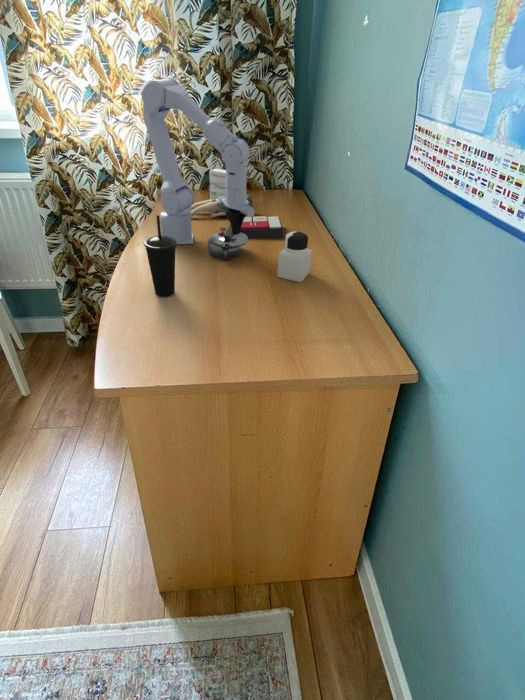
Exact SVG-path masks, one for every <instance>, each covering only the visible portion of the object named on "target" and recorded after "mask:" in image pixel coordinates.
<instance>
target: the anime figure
mask: <svg viewBox="0 0 525 700" xmlns="http://www.w3.org/2000/svg"><path fill="white" fill-rule="evenodd" d="M251 195H252V194H251V193H246V200H247V201H249V204H248V205H249V206H250V207H251V208H252V206H253V204H254V201H253V197H252V196H251ZM226 210H229V208H228V207H226V206H225V205H224V204H219V199H214V200H210V199H206V200H201V201H199V202H194V203H193V204H192V205H191V218H192V217H194V216H195V215H196V214H199V213H200V212H213V213H211V214H210V215H209V217H210V218H215V217H218V216H220V217H221V216H222V217H225V216H226V217H227V215H226V213H225V211H226Z"/></svg>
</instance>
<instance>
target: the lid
mask: <svg viewBox="0 0 525 700" xmlns="http://www.w3.org/2000/svg"><path fill="white" fill-rule="evenodd" d="M210 237H211V241H212V243H214V244H215V245H218V246H221V248H222V249H229V248H230V247H239V246H241V247H242V246H244V245H246V244H247V243H248V241H249V238H248V237H247V235H245V234H244V233H241V232H240V234H236V235H234V234H233V233H232V228H231V224H229V226H228V228H227V229H226V231H220V230H219V231H218V232H217V231H216V232H215V233H213V234H212V235H211V236H210Z"/></svg>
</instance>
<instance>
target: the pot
mask: <svg viewBox="0 0 525 700" xmlns="http://www.w3.org/2000/svg"><path fill="white" fill-rule="evenodd" d="M226 228H227V227H220V228H219V231H227V229H226ZM207 252H208V255H210V256H211V257H213V258H217V259H222V260H223V261H224V262H227V261H229V259H232V258H237V257H239V256H240V255H241V253H242V246H239V247H230V248H229V249H222V248H221V246H218V245H215V244H214V243H212V241H211V236H210V237H209V238H208V239H207Z"/></svg>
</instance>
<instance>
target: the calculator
mask: <svg viewBox="0 0 525 700" xmlns="http://www.w3.org/2000/svg"><path fill="white" fill-rule="evenodd" d="M283 229H284V228H283V225H282V220H281V218H280V216H278V215H277V216H268V217H267V216H265V215H263V216H262V215H261V216H252V217H247V216H245V218H244V220H243V223H242V226H241V231H240V232H241V233H244V234H245V235H247V237H248V239H250V238H254V239H257V238H258V239H259V238H270V239H282V238H283V236H284V235H283V234H284V230H283Z"/></svg>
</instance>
